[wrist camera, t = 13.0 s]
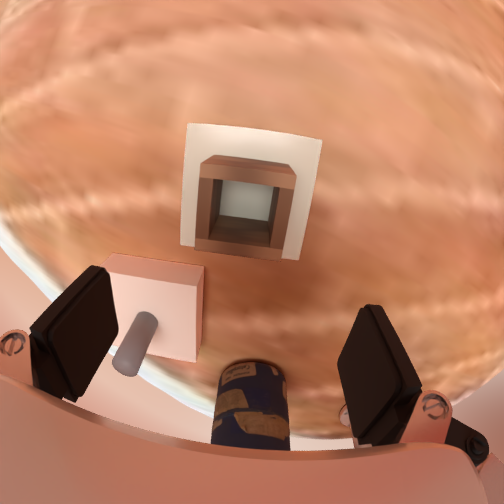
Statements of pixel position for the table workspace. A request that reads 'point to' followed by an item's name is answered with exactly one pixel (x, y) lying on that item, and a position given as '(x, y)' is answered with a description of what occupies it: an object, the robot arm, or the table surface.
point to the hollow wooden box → (237, 228)
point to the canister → (251, 408)
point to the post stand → (155, 309)
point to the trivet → (248, 194)
